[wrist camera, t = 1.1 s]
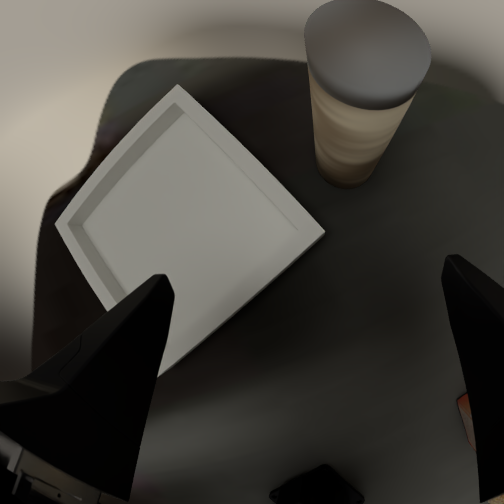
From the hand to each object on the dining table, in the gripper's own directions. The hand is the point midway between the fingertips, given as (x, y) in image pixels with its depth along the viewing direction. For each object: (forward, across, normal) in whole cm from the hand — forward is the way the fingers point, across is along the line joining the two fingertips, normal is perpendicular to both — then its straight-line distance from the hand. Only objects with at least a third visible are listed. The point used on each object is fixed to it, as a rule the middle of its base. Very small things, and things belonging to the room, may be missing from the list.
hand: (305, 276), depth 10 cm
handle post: (+15, -3, +2) cm, 16 cm away
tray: (+13, +10, +6) cm, 17 cm away
